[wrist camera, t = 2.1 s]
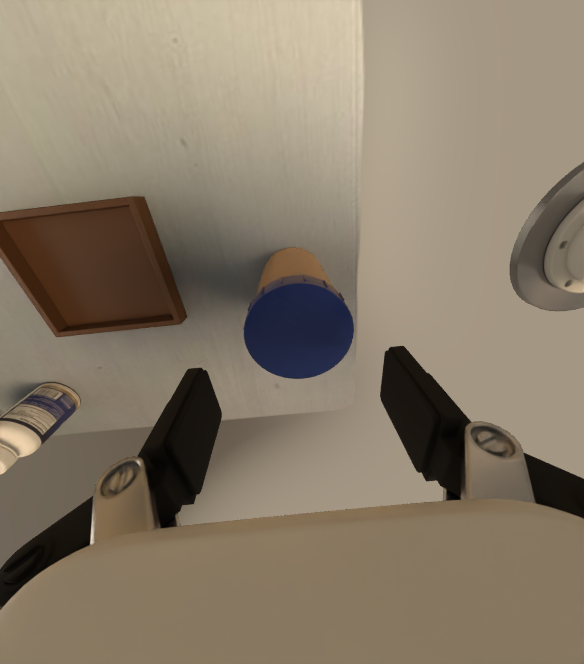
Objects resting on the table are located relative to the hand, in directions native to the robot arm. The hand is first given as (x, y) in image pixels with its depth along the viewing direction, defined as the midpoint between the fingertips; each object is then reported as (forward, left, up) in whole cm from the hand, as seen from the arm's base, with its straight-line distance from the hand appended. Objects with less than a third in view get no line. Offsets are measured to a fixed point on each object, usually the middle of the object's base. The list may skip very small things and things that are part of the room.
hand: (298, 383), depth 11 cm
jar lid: (0, 0, -5) cm, 5 cm away
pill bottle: (+34, +13, -17) cm, 40 cm away
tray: (+19, -3, -17) cm, 26 cm away
